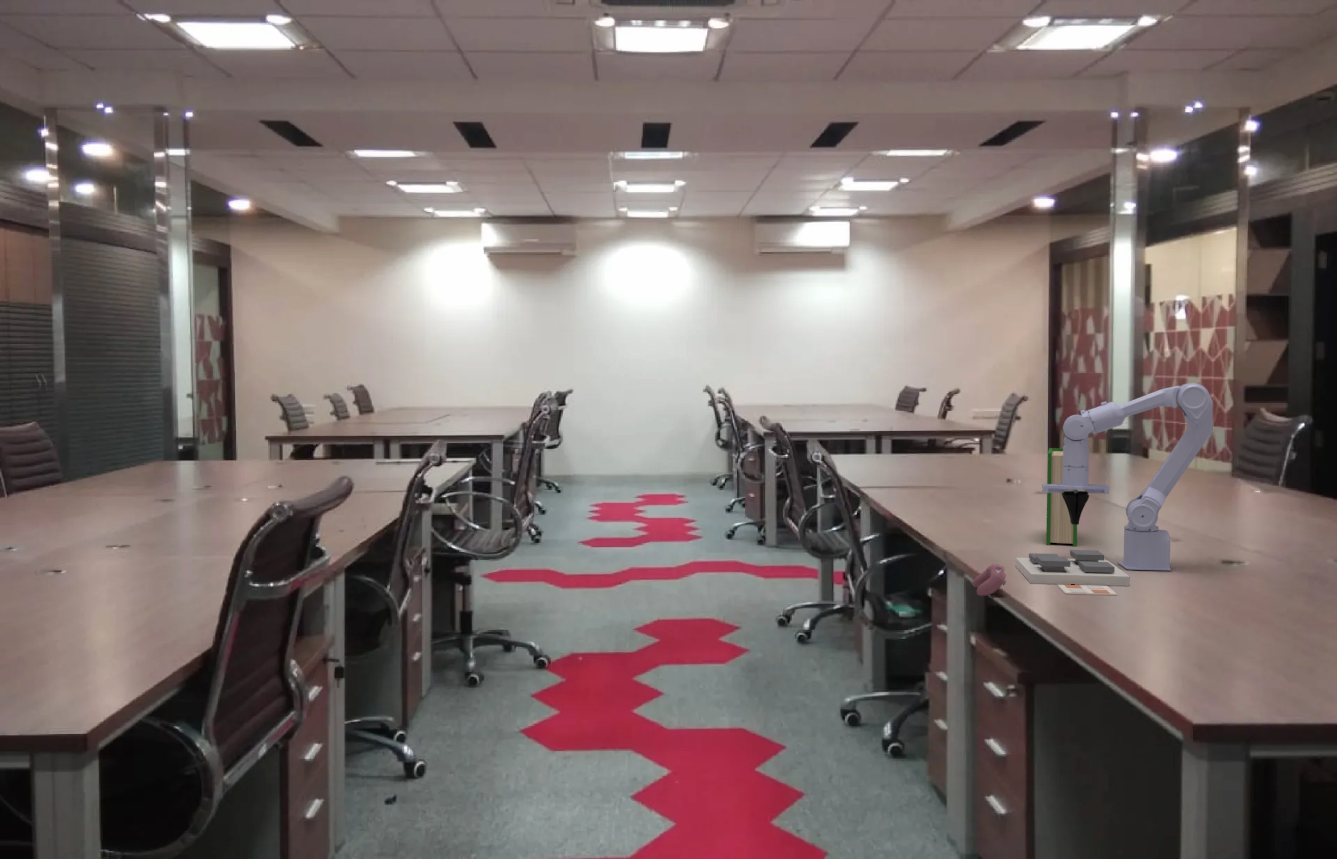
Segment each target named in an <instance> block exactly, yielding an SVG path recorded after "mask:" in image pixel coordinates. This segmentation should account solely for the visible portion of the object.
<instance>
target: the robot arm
mask: <svg viewBox="0 0 1337 859" xmlns="http://www.w3.org/2000/svg"><path fill="white" fill-rule="evenodd" d="M1210 395H1211V394H1210V393H1209V390H1208V389H1207V388H1206V387H1205V386H1204V385H1201V384H1199V383H1194V382H1187V383H1184V384H1182V385H1175V386H1170V387H1166V388H1165V387H1164V388H1162V389H1159V390H1156V391H1153V392H1151V393H1148V394H1146V395H1145V394H1144V395H1142V396H1140V397H1138V398H1137V397H1136V398H1135V399H1133V400H1129V401H1127V402H1125V403H1122V404H1118V403H1117V402H1114V401H1110V402H1107V401H1102V402H1101V403H1100V405H1099V406H1097V407H1093V408H1091V409H1087V410H1085V409H1081V410H1080V414H1073V415H1070V416H1068V417H1067V418H1066V420H1064V423H1063V425H1062V431H1063V433H1064V438H1063V444H1064V445H1063V446H1062V448H1063V481H1062V484H1047V483H1043V484H1041V485H1042V487H1041V489H1042V490H1041V492H1042V493H1043V494H1047V493H1062V497H1063V499H1064V501H1065V503H1066V505H1067V508H1068V511H1069V515H1070V520H1071V524H1076V525H1077V526H1078V525H1079V524H1080V519H1081V517H1082V516H1081V515H1082V514H1083V513H1082V512H1083V510H1084V508H1085V506H1086V504H1087V502H1088V501H1089V498H1090V495H1089V494H1104V495H1109V493H1110V485H1108V484H1094V483H1092V484H1090V483H1089V482H1090V478H1089V477H1090V476H1089V473H1090V472H1089V471H1090V466H1089V465H1090V447H1089V435H1090V434H1092V435H1097V434H1099V433H1102V432H1105V431H1108V430H1111V429H1113V428H1116V427H1120V426H1122V425H1123V423H1124V422H1125V419H1126V418H1127V417H1130V416H1133V415H1137V414H1140V413H1143V412H1147V411H1150V410H1154V409H1156V408H1159V407H1167V408H1168V407H1169V408H1175V409H1176V408H1177V406H1178V408H1179V409H1180V410H1181V412H1182V413H1183V416H1184V420H1185V422H1186V426H1187V428H1186V430H1185V431H1184V432H1183V434H1182V435H1181V437H1180V439H1179V440H1178V441H1177V443H1176V444H1175V445H1174V447H1173V449H1172V450H1171V452H1170V453H1169V454H1168V456H1167V457H1166V458H1165V460H1164V462H1162V464H1161V466H1160V467H1159V468H1158V470H1157V472H1156V473H1155V474H1154V475H1153V477H1152V479H1151V480H1150V482H1149V483H1148V484H1147V486H1146V487H1145V488H1144V489H1143V490H1142V491H1141V493H1140V494H1139V495H1138V496H1137V497H1135V498H1134V499H1132V500H1130V501H1128V504H1127V505H1126V508H1125V514H1126V516H1127V520H1128V523H1127V524H1125V525H1124V528H1123V530H1124V531H1123V535H1124V536H1123V560H1122V561H1121V560H1120V561H1117V564H1119V565H1120V566H1121V567H1123V568H1125V569H1126V570H1130V571H1132V570H1133V571H1135V570H1136V571H1137V570H1138V571H1139V570H1140V571H1171V570H1172V569H1171V536H1170V533H1169V531H1168V530H1166V529H1160V528H1159V526H1158V525H1156V524H1157V523H1158V519H1159V513H1160V510H1161V509H1162V508H1163V506H1164V503H1165V502H1166V500H1167V497H1168V496H1169V494H1171V492H1172V490H1173V489H1174V488H1175V486H1176V484H1177V483H1178V482H1179V480H1180V479H1181V477H1182V476H1183V475H1184V473H1185V472H1186V471H1187V469H1188V467H1189V466H1190V465H1191V463H1192V462H1193V460H1194V459H1195V458H1196V456H1197V454H1198V453H1199V452H1200V450H1202V448H1203V446H1204V445H1205V443H1206V442H1207V440H1208V439H1209V437H1210V436H1211V434H1212V433H1213V431H1214V420H1213V419H1214V416H1213V411H1214V410H1213V407H1214V402H1213V399H1212V397H1211V396H1210ZM1068 489H1071V490H1078V491H1066V490H1068ZM1062 490H1064V491H1062ZM1074 493H1075V494H1074Z"/></svg>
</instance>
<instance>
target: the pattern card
mask: <svg viewBox="0 0 1337 859" xmlns="http://www.w3.org/2000/svg"><path fill="white" fill-rule="evenodd" d="M1056 586H1057V587H1058V588H1059V590H1061V591H1062V592H1063V593H1064V594H1065V595H1081V596H1082V595H1087V596H1089V595H1090V596H1118V594H1117V593H1116V591H1114V590H1113V589H1112V588H1111V587H1109V586H1108V585H1071V584H1056Z"/></svg>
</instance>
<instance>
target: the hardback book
mask: <svg viewBox="0 0 1337 859" xmlns="http://www.w3.org/2000/svg"><path fill="white" fill-rule="evenodd" d="M1046 473H1047V476H1046V477H1047V478H1046V482H1047V483H1046V484H1062V481H1063V447H1062V448H1059V447H1058V448H1057V447H1056V448H1055V447H1053V448H1051V447H1049V448H1048V451H1047V472H1046ZM1062 491H1064V490H1062ZM1066 491H1079V490H1071V489H1068V490H1066ZM1074 494H1075V493H1074ZM1045 531H1046V533H1045V534H1046V535H1045V536H1046V541H1045V544H1046V546H1050V545H1051V543H1053V544H1054V543H1056V544H1072V547H1076V548H1077V547H1078V525H1076V524H1071V520H1070V515H1069V511H1068V508H1067V505H1066V503H1065V501H1064V499H1063V497H1062V493H1046V530H1045Z"/></svg>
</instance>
